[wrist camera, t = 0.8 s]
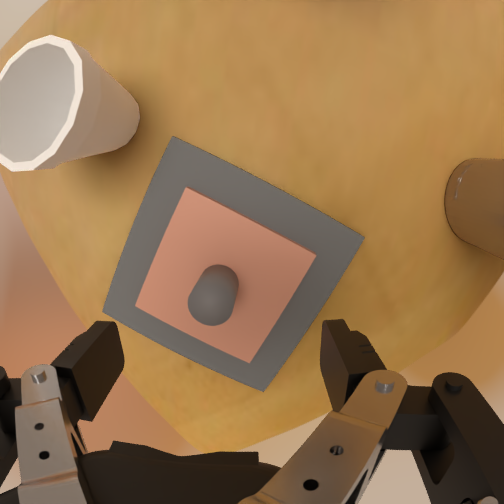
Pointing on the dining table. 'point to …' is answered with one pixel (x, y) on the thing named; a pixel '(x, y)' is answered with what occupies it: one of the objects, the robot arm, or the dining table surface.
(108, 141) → the foam cup
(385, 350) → the dining table surface
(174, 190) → the mat
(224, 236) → the lid
